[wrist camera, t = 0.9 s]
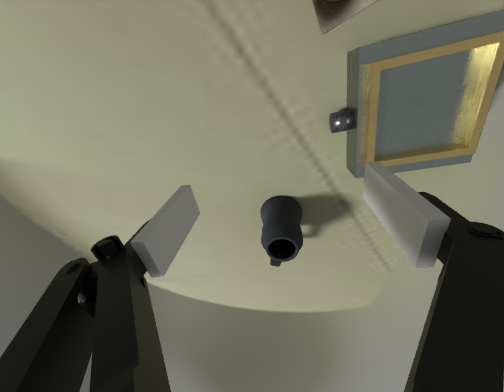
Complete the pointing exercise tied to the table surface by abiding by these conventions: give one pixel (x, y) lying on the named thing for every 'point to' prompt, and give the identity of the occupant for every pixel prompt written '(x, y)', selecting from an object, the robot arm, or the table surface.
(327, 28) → the condiment
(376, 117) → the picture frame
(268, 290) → the table surface
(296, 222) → the mug
